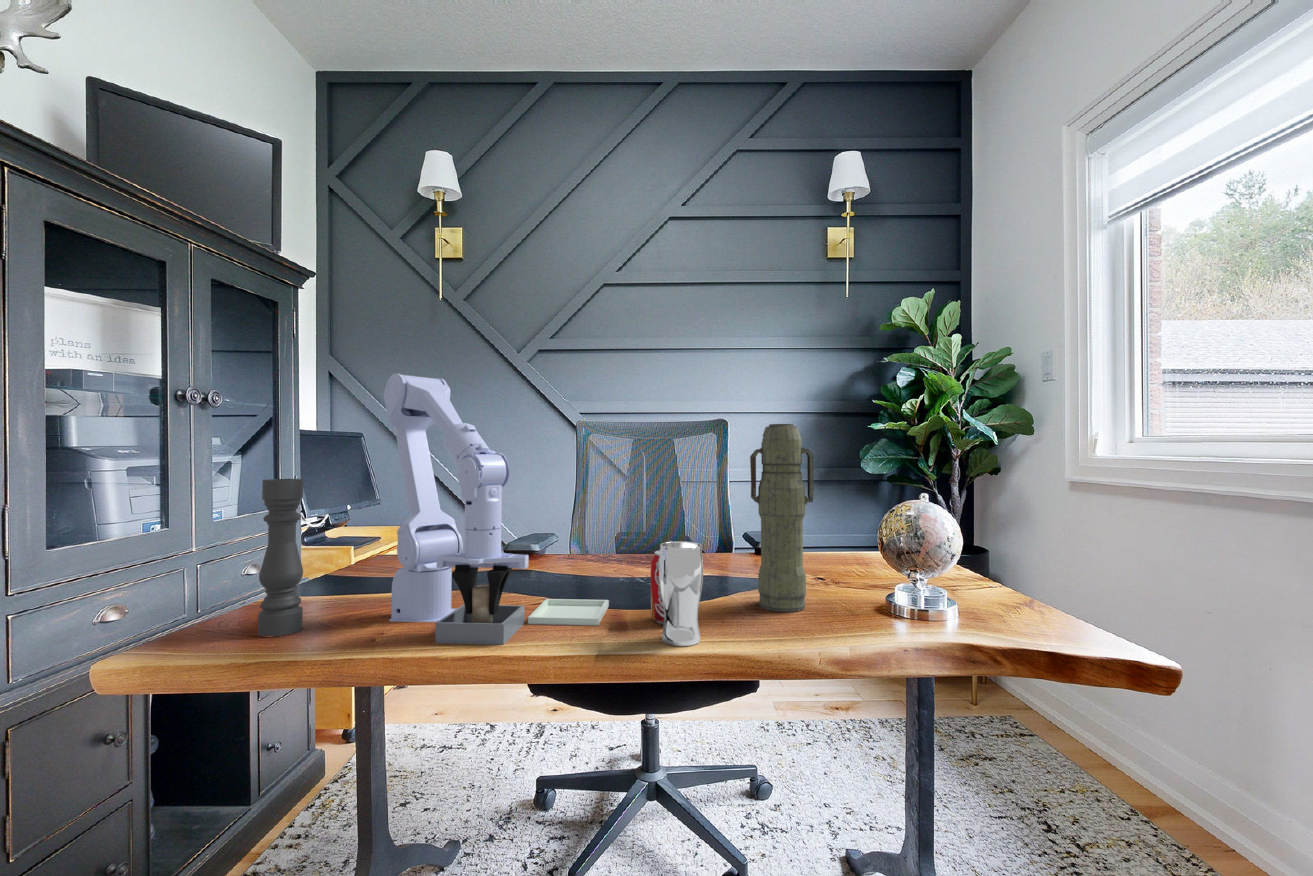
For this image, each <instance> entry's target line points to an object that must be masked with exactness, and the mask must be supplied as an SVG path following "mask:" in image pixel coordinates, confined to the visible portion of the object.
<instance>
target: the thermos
mask: <svg viewBox="0 0 1313 876" xmlns="http://www.w3.org/2000/svg"><path fill="white" fill-rule="evenodd" d="M761 440H762V441H761V443H760V444H761V445H760V448H758V449H755V450H754V451H753V452H752V453H751V455H750V456H749V459H750V460H749V462H750V464H749V465H750V498H751V499H752V500H753V501H754V502H755V503H756V504H758V505H757V506H758V515H759V518H760V567H759V570H758V576H757V577H758V578H757V580H758V583H757V585H758V586H757V587H758V594H759V601H758V602H759V607H760V608H762V609H764V610H766V609H767V610H766V611H771V612H777V613H796V612H795V611H798V612H800V611H799V610H802V609H804V608H805V609H806V602H805V601H806V599H805V596H806V595H807V589H806V588H807V577H806V572H805V570H804V559H803V558H804V554H803V553H804V551H803V550H804V542H803V541H804V534H803V533H804V525H803V524H804V523H803V522H804V521H803V520H804V517H805V515H806V505H808V503H813V501H814V454H813V453H812V452H811V451H810V449H809V448H805V447H802V437H801V435H800V431H799V428H798V426H796V425H795V426H794V424H793V423H772V424H768V426H765V428H764V431H763V433H762V439H761ZM758 454H761V465H762V472H761V478H760V481H759V484H758V491H757V456H758ZM803 454H804V455H805V454H806V456H807V467H806V468H807V496H806V487H805V484H804V480H803V476H802V472H801V469H802V468H801V467H802V466H801V465H802V463H803V462H802V457H803V456H802V455H803ZM757 492H758V495H757ZM805 609H804V610H805ZM802 611H803V610H802Z"/></svg>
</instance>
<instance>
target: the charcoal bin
mask: <svg viewBox="0 0 1313 876" xmlns="http://www.w3.org/2000/svg"><path fill="white" fill-rule="evenodd" d="M455 609H456V610H454V611H453V612H451V613H450V614H448V615H447V616H445V617H444V618H442V619H441V620H439V621H438V622H435V626H434V627H435V629H434V630H435V631H434V632H435V635H434V637H435V639H434V640H435V641H434V642H435V644H450V645H451V644H452V645H494V646H495V645H498V646H504V645H505V644H506V643H507V642H508V641H509V640H510V639H511V638H512V637H513V636H514V635H515V634H516V633H517V632H518V631H519V630H520V629H521V627H523V626H524V625H525V605H523V604H522V605H520V604H519V605H518V604H517V605H513V604H512V605H511V604H509V605H508V604H499V608H498V612H496V613H495V614H493V623H472V613H471V614H466V609H465V604H464V603H463V604H462V605H461V606H459V607H457V608H455Z"/></svg>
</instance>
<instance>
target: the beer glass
mask: <svg viewBox="0 0 1313 876" xmlns="http://www.w3.org/2000/svg"><path fill="white" fill-rule="evenodd" d="M702 547H703V545H702V544H701V543H699V542H696V541H685V540H684V541H666V542H663V543H660V547H659V548H660V549H659V550H660V559H659V582H660V590H661V596H662V602H663V608H664V625H663V628H662V633H661V641H662V642H663V643H664V644H666V645H669V646H672V647H691V646H695V645H697V644H699V643H700V642H701V634H700V629H699V620H698V618H699V616H698V615H699V606H700V602H701V595H702V589H703V583H704V582H703V581H704V564H703V563H704V561H703V551H702V550H703V549H702Z"/></svg>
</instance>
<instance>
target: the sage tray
mask: <svg viewBox="0 0 1313 876" xmlns="http://www.w3.org/2000/svg"><path fill="white" fill-rule="evenodd" d="M609 603H610V600H609V599H575V598H574V599H568V598H567V599H566V598H545V600H544V601H542V603H540V605H539V606H537V608H535V609H534V611H533V612H531V614H530V615H529V616H528V617H527V624H528V625H547V626H548V625H549V626H554V625H555V626H599V625H600V623H601V621H602V619H603V617H604V615H605V614H606V612H607V610H608V608H609V606H610V605H609Z"/></svg>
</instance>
